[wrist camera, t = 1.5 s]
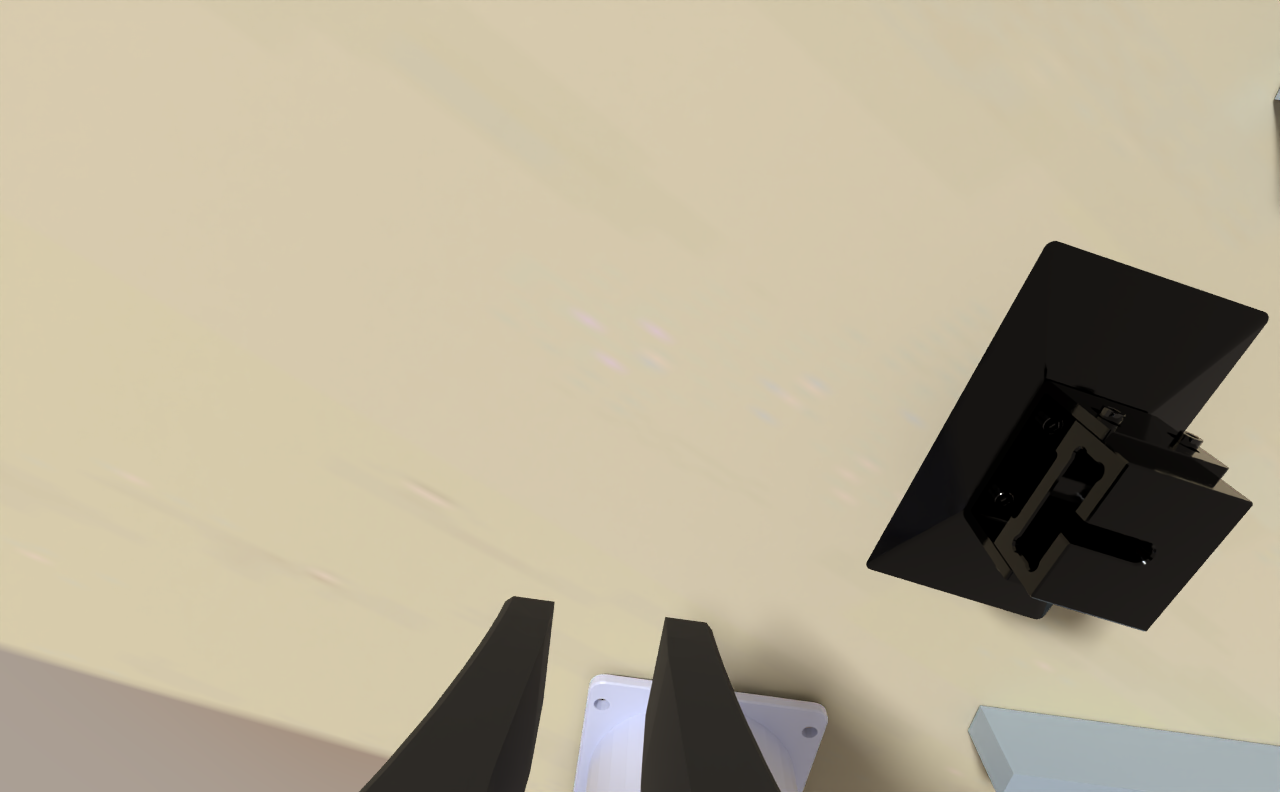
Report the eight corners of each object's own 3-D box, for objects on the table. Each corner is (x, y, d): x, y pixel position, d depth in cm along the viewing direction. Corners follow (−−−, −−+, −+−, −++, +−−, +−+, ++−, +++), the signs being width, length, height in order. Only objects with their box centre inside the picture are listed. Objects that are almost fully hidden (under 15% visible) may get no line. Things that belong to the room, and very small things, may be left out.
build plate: (1041, 174, 17) (1176, 208, 12) (1315, 274, 18) (1538, 339, 13) (817, 584, 22) (856, 712, 18) (1036, 648, 23) (1126, 786, 18)
